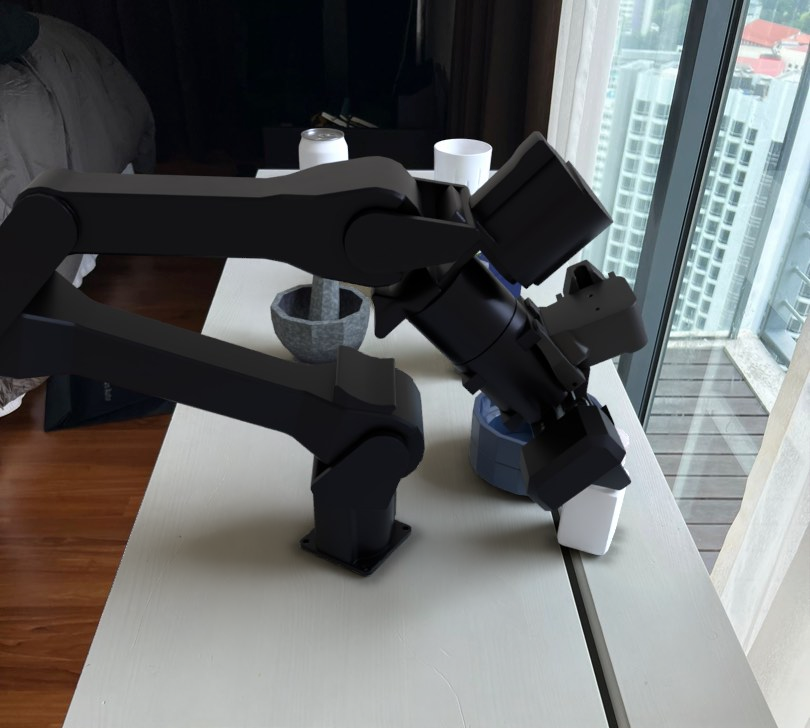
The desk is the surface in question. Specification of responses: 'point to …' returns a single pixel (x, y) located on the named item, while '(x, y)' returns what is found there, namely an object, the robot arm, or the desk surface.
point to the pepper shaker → (592, 515)
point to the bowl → (498, 446)
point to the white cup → (462, 162)
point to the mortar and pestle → (320, 320)
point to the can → (321, 147)
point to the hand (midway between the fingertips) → (619, 469)
